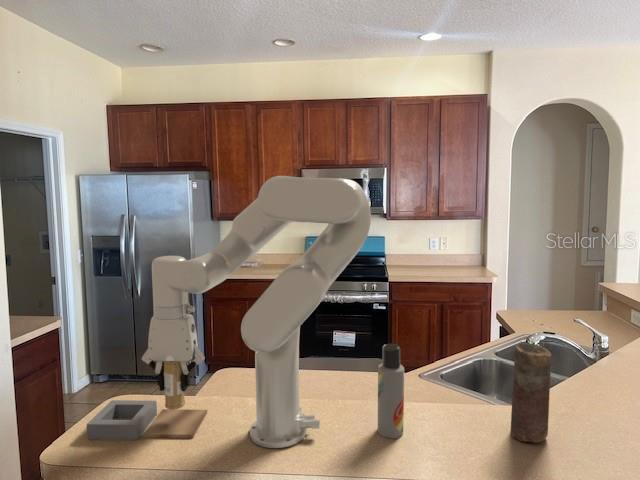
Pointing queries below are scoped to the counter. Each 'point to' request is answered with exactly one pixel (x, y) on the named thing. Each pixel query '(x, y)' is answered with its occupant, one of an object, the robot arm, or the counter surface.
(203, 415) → the coaster board
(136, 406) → the grey square tray
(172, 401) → the sprinkles bottle
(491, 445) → the counter surface
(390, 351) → the lotion bottle
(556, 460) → the counter surface
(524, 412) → the candle
